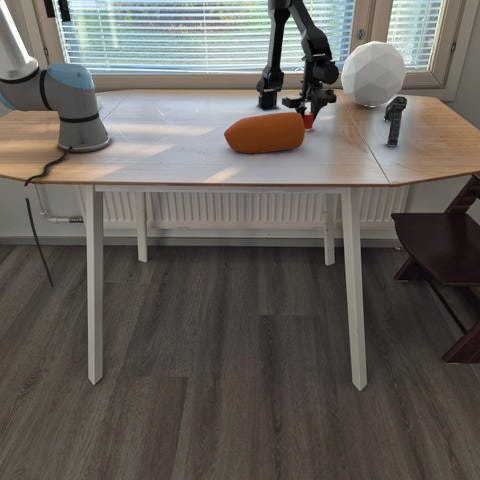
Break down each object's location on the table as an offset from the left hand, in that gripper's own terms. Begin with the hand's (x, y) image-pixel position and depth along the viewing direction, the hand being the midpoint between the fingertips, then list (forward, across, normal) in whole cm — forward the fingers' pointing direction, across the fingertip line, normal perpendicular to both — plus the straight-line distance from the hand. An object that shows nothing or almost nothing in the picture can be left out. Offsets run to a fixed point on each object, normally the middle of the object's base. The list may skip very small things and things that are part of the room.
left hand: (59, 19), depth 139 cm
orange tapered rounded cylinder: (+31, -73, -30) cm, 85 cm away
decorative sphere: (+31, -66, -95) cm, 120 cm away
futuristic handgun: (+31, -91, -72) cm, 121 cm away
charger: (+31, 0, -5) cm, 32 cm away
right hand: (+29, -70, -53) cm, 93 cm away
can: (+30, -70, -53) cm, 93 cm away
